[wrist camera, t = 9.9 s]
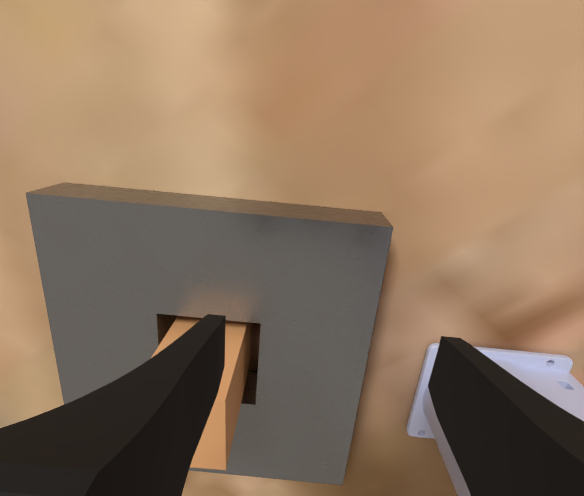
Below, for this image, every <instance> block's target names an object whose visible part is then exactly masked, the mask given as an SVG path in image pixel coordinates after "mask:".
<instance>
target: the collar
mask: <svg viewBox="0 0 584 496" xmlns="http://www.w3.org/2000/svg"><path fill="white" fill-rule="evenodd" d="M26 197H27V203H28V208H29V214H30V219H31V225H32V230H33V236H34V241H35V247H36V252H37V258H38V263H39V269H40V274H41V280H42V285H43V291H44V296H45V302H46V307H47V313H48V318H49V324H50V329H51V334H52V340H53V345H54V351H55V356H56V362H57V367H58V373H59V378H60V384H61V389H62V395H63V400H64V405H65V404H67V403H69V402H72V401H74V400H76V399H78V398H81V397H83V396H85V395H87V394H89V393H91V392H93V391H95V390H97V389H99V388H101V387H103V386H105V385H107V384H109V383H111V382H113V381H115V380H116V379H118V378H120V377H122V376H123V375H125V374H127V373H129V372H130V371H132V370H134V369H135V368H137V367H138V366H140V365H142V364H143V363H145V362H146V361H148V360H149V359H151V357H152V355H153V354H154V352H155V351H156V349H157V348H158V346H159V345H160V343H161V342H162V340H163V338H164V337H165V335H166V334H167V332H168V331H169V329H170V328H171V326H172V324H173V323H174V321H175V320H176V315H177V316H187V317H198V318H203V317H204V316H206V315H207V314H213V315H223V316H226V320H229V321H240V322H250V323H260V324H261V327H260V343H259V358H258V372H250V371H248V375H247V379H246V384H245V388H244V393H243V397H242V402H241V406H240V410H239V415H238V419H237V424H236V428H235V432H234V437H233V441H232V446H231V450H230V454H229V459H228V463H227V468H226V470H218V469H205V468H192V467H190V468H189V470H191V471H202V472H212V473H222V474H232V475H243V476H253V477H263V478H273V479H283V480H294V481H304V482H314V483H324V484H335V485H343V481H344V476H345V470H346V465H347V460H348V455H349V450H350V445H351V440H352V435H353V430H354V425H355V419H356V414H357V409H358V404H359V399H360V394H361V389H362V384H363V379H364V374H365V369H366V363H367V358H368V353H369V348H370V343H371V338H372V333H373V328H374V323H375V318H376V312H377V307H378V302H379V297H380V292H381V287H382V282H383V277H384V272H385V267H386V261H387V256H388V251H389V246H390V241H391V236H392V231H393V226H392V225H391V224H390V223H389V221H388V220H387V219H386V218H385V216H384V215H383V214H382V213H381V212H372V211H361V210H350V209H340V208H329V207H318V206H308V205H297V204H286V203H276V202H265V201H254V200H244V199H233V198H222V197H211V196H201V195H190V194H179V193H169V192H158V191H147V190H137V189H126V188H115V187H105V186H94V185H83V184H72V183H61V184H57V185H53V186H50V187H46V188H42V189H38V190H35V191H31V192H27V193H26Z"/></svg>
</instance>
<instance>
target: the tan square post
mask: <svg viewBox="0 0 584 496" xmlns="http://www.w3.org/2000/svg"><path fill="white" fill-rule="evenodd" d="M201 319H202V318H198V317H187V316H178V317H177V318H176V320H175V321H174V323H173V324H172V326H171V328H170V329H169V331H168V332H167V334H166V335H165V337H164V338H163V340H162V342H161V343H160V345H159V346H158V348H157V349H156V351H155V352H154V354H153V355H152V357H153V356H155V355H156V354H158V353H159V352H160V351H162V350H163V349H165V348H166V347H167V346H169V345H170V344H171V343H172V342H174V341H175V340H176V339H178V338H179V337H180V336H181V335H183V334H184V333H185V332H186V331H187V330H189V329H190V328H191V327H192V326H193V325H195V324H196V323H197V322H198V321H199V320H201ZM250 345H251V323H250V322H240V321H229V320H226V326H225V366H224V371H223V375H222V379H221V383H220V386H219V390H218V394H217V397H216V399H215V402H214V405H213V407H212V410H211V413H210V415H209V418H208V420H207V423H206V425H205V428H204V431H203V433H202V436H201V438H200V441H199V444H198V446H197V449H196V451H195V454H194V456H193V459H192V462H191V465H190V467H192V468H205V469H218V470H226V468H227V463H228V459H229V454H230V450H231V446H232V441H233V437H234V432H235V428H236V424H237V419H238V415H239V410H240V406H241V402H242V397H243V393H244V388H245V384H246V379H247V375H248V371H249V366H250ZM152 357H151V358H152Z"/></svg>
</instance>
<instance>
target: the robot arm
mask: <svg viewBox="0 0 584 496" xmlns="http://www.w3.org/2000/svg"><path fill="white" fill-rule="evenodd" d="M225 326H226V316H223V315H213V314H207V315H206V316H204V317H203V318H202V319H201V320H199V321H198V322H197V323H196V324H195V325H193V326H192V327H191V328H190V329H189V330H187V331H186V332H185V333H184V334H183V335H181V336H180V337H179V338H178V339H176V340H175V341H174V342H172V343H171V344H170V345H169V346H167V347H166V348H165V349H163V350H162V351H160V352H159V353H158V354H156V355H155V356H153V357H152V358H151V359H149V360H148V361H146V362H145V363H143V364H142V365H140V366H138V367H137V368H135V369H134V370H132V371H130V372H129V373H127V374H125V375H123V376H122V377H120V378H118V379H116V380H115V381H113V382H111V383H109V384H107V385H105V386H103V387H101V388H99V389H97V390H95V391H93V392H91V393H89V394H87V395H85V396H83V397H81V398H78V399H76V400H74V401H72V402H69V403H67V404H65V405H62V406H60V407H58V408H55V409H53V410H50V411H48V412H45V413H42V414H40V415H37V416H35V417H32V418H29V419H27V420H24V421H21V422H18V423H15V424H12V425H9V426H6V427H3V428H0V496H181V495H182V491H183V488H184V484H185V481H186V477H187V474H188V471H189V468H190V465H191V462H192V459H193V456H194V454H195V451H196V449H197V446H198V444H199V441H200V438H201V436H202V433H203V431H204V428H205V425H206V423H207V420H208V418H209V415H210V413H211V410H212V407H213V405H214V402H215V399H216V397H217V394H218V390H219V386H220V383H221V379H222V375H223V371H224V366H225ZM549 360H550V361H549ZM547 361H549V362H547ZM572 365H573V361H572V360H571V359H570V358H569V357H568V356H565V355H556V354H546V353H536V352H525V351H515V350H504V349H494V348H483V347H473V346H472V345H470V344H469V343H467V342H466V341H464V340H462V339H461V338H454V337H443V336H441V340H440V343H433V344H431V345H429V346H428V348H427V352H426V355H425V359H424V363H423V367H422V370H421V374H420V378H419V382H418V385H417V389H416V393H415V397H414V401H413V404H412V408H411V412H410V416H409V419H408V423H407V427H406V430H407V433H408V435H410V436H412V437H422V438H432V439H435V441H436V444H437V446H438V449H439V451H440V454H441V456H442V459H443V461H444V464H445V466H446V469H447V471H448V474H449V476H450V479H451V481H452V484H453V486H454V488H455V491H456V493H457V496H584V387H583V386H582V385H581V384H580V383H579V382H578V381H577V380H576V379H575V378H574V377H573V376H572V375H571V374H570V373H569V372H570V370H571V367H572ZM420 430H421V431H420Z"/></svg>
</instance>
